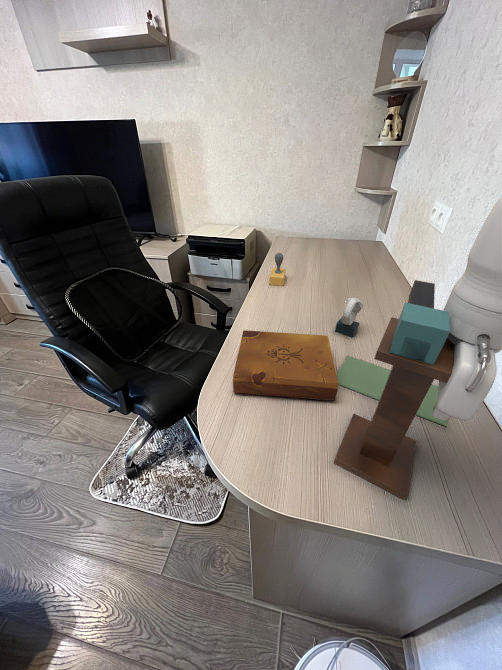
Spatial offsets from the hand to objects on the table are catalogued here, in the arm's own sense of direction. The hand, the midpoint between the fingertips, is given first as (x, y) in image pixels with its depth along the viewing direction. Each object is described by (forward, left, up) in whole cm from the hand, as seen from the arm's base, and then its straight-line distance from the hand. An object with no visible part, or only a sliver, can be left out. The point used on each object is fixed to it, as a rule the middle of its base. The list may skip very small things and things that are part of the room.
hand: (440, 394), depth 43 cm
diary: (+30, -8, -16) cm, 35 cm away
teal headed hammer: (+7, -2, +10) cm, 12 cm away
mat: (+6, -17, -16) cm, 24 cm away
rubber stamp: (+58, -57, -16) cm, 83 cm away
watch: (+22, -35, -16) cm, 44 cm away
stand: (+5, +3, -16) cm, 17 cm away
